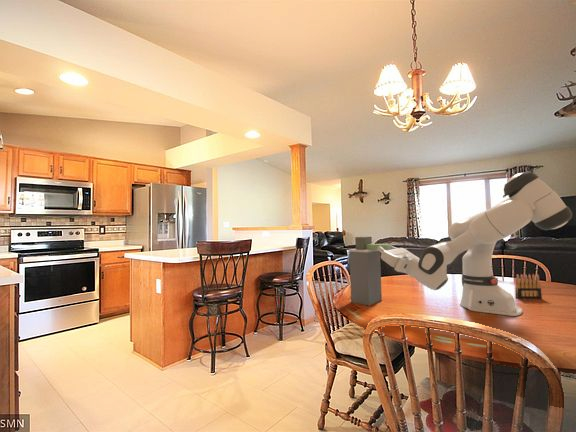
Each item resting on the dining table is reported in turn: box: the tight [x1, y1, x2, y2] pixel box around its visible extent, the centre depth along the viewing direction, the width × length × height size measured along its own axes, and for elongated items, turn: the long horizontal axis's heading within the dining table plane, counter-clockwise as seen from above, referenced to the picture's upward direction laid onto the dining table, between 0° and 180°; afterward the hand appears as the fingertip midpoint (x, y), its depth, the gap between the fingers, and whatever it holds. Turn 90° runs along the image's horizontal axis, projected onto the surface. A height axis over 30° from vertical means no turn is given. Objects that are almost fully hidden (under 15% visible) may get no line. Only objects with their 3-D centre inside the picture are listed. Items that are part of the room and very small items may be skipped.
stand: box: [348, 248, 383, 307], centre depth 147 cm, size 10×12×26 cm
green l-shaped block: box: [354, 236, 392, 250], centre depth 143 cm, size 16×7×6 cm, turn 44°
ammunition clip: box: [515, 273, 543, 300], centre depth 144 cm, size 11×2×12 cm, turn 82°
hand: (383, 246), depth 140 cm, fingers open, 8 cm apart
